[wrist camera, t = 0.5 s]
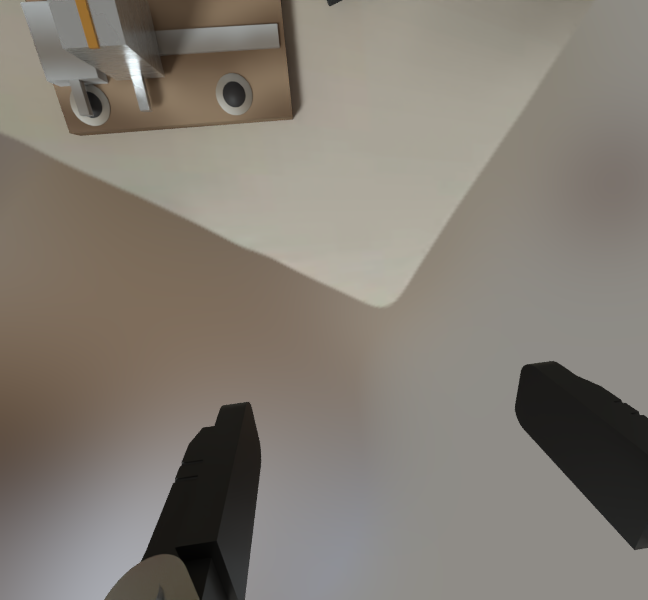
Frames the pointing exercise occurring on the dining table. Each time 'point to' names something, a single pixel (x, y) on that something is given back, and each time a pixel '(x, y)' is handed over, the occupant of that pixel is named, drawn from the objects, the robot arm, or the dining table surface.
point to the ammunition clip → (333, 2)
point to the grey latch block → (111, 39)
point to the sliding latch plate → (178, 69)
